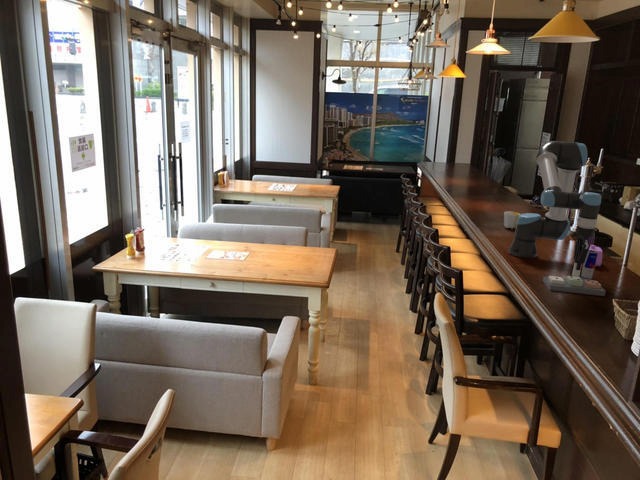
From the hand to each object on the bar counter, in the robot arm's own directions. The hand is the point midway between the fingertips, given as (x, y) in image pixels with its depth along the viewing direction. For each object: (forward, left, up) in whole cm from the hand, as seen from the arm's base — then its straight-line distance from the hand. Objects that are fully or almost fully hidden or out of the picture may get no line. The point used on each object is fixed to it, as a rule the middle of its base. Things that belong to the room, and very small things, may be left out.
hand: (575, 275), depth 239 cm
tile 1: (0, -8, -5) cm, 10 cm away
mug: (-116, -5, -7) cm, 116 cm away
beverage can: (-68, +27, -7) cm, 74 cm away
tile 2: (0, 0, -4) cm, 4 cm away
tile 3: (0, +8, -5) cm, 10 cm away
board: (0, 0, -6) cm, 6 cm away
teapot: (-48, +23, -7) cm, 54 cm away
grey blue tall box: (-16, +11, -7) cm, 21 cm away
